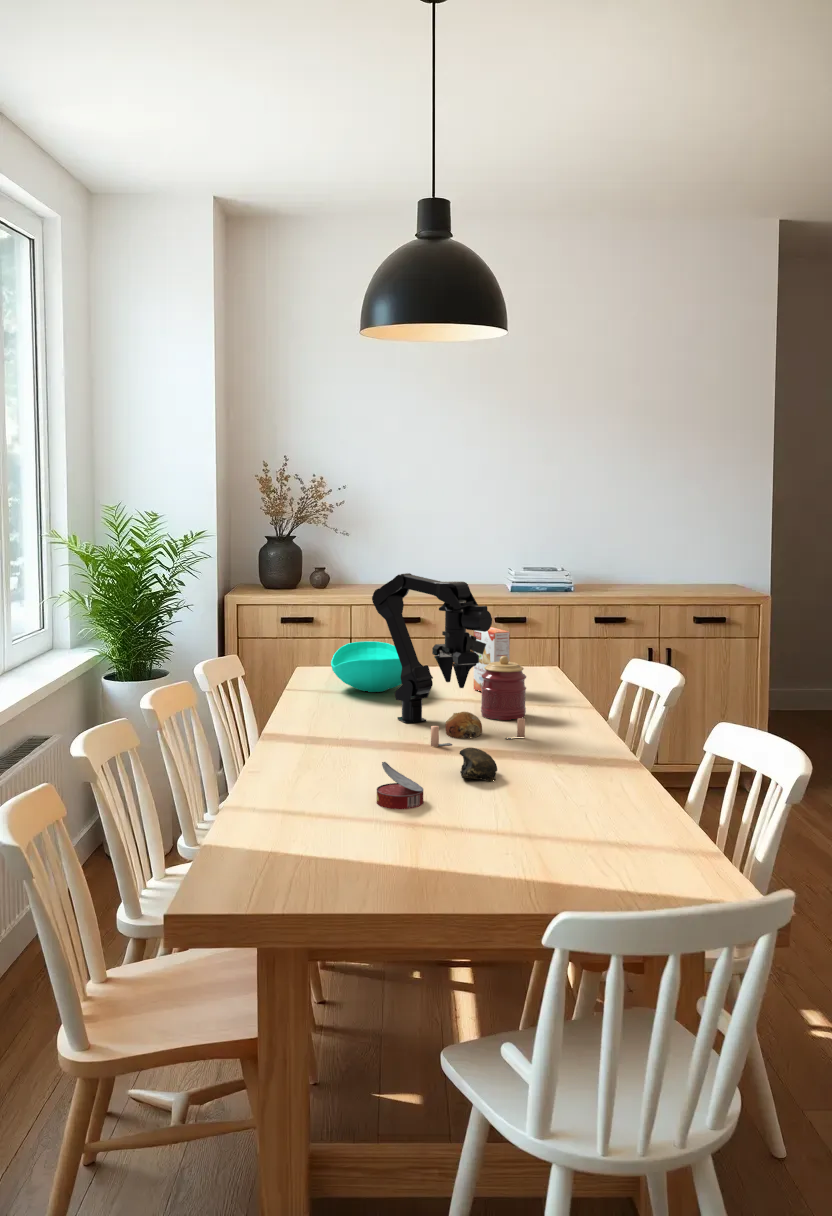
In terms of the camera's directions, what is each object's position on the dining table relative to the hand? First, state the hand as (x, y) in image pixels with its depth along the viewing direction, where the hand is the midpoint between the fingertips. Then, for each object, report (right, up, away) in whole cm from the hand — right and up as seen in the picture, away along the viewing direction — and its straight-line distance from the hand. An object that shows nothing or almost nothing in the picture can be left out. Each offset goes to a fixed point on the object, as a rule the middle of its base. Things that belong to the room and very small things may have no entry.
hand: (454, 685), depth 298 cm
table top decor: (-24, -6, +57) cm, 62 cm away
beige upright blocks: (+6, -14, -14) cm, 20 cm away
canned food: (-14, -20, -69) cm, 73 cm away
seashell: (+4, -18, -48) cm, 51 cm away
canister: (+15, -11, +18) cm, 26 cm away
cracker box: (+13, -7, +53) cm, 56 cm away
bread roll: (+2, -13, -6) cm, 14 cm away
